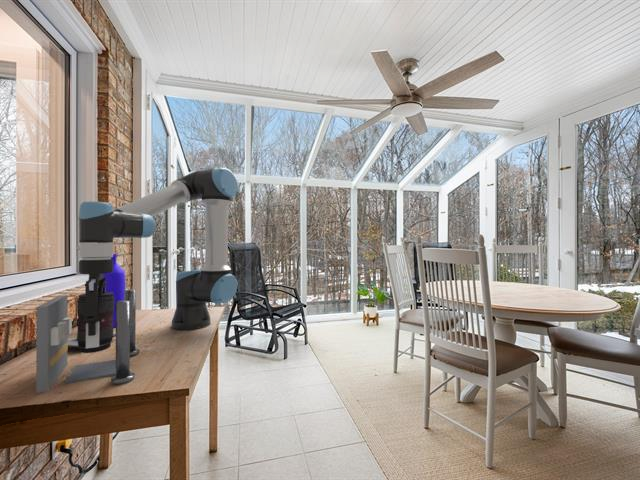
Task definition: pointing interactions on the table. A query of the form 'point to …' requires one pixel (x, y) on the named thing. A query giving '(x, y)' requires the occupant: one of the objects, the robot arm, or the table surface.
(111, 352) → the table surface
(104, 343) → the camera lens
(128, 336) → the post
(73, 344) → the electrical outlet
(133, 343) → the post
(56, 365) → the breaker panel
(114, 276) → the bottle
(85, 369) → the pad
